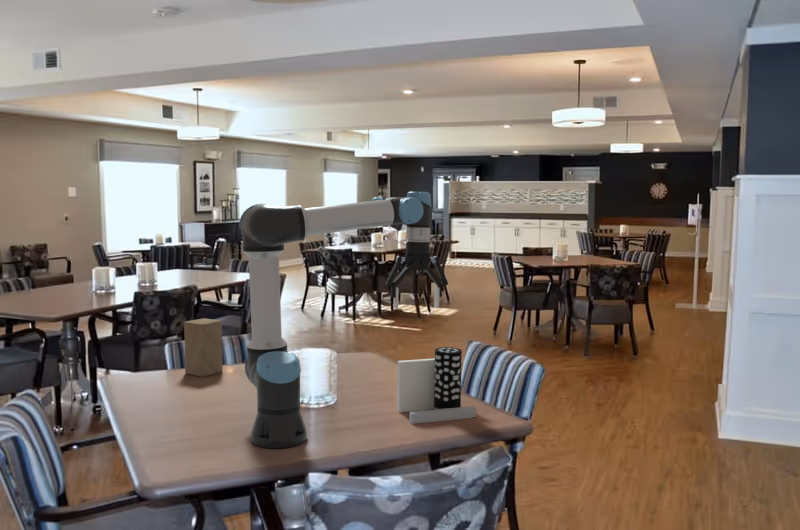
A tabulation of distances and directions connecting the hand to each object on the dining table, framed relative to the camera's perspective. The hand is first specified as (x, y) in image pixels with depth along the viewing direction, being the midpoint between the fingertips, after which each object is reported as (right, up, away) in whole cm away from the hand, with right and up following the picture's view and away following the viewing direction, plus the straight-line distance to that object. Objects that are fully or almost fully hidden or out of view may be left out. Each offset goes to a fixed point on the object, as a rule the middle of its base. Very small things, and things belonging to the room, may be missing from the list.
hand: (416, 307), depth 217 cm
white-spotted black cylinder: (+10, -33, -2) cm, 34 cm away
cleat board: (+6, -33, -4) cm, 34 cm away
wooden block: (-80, -28, +44) cm, 95 cm away
